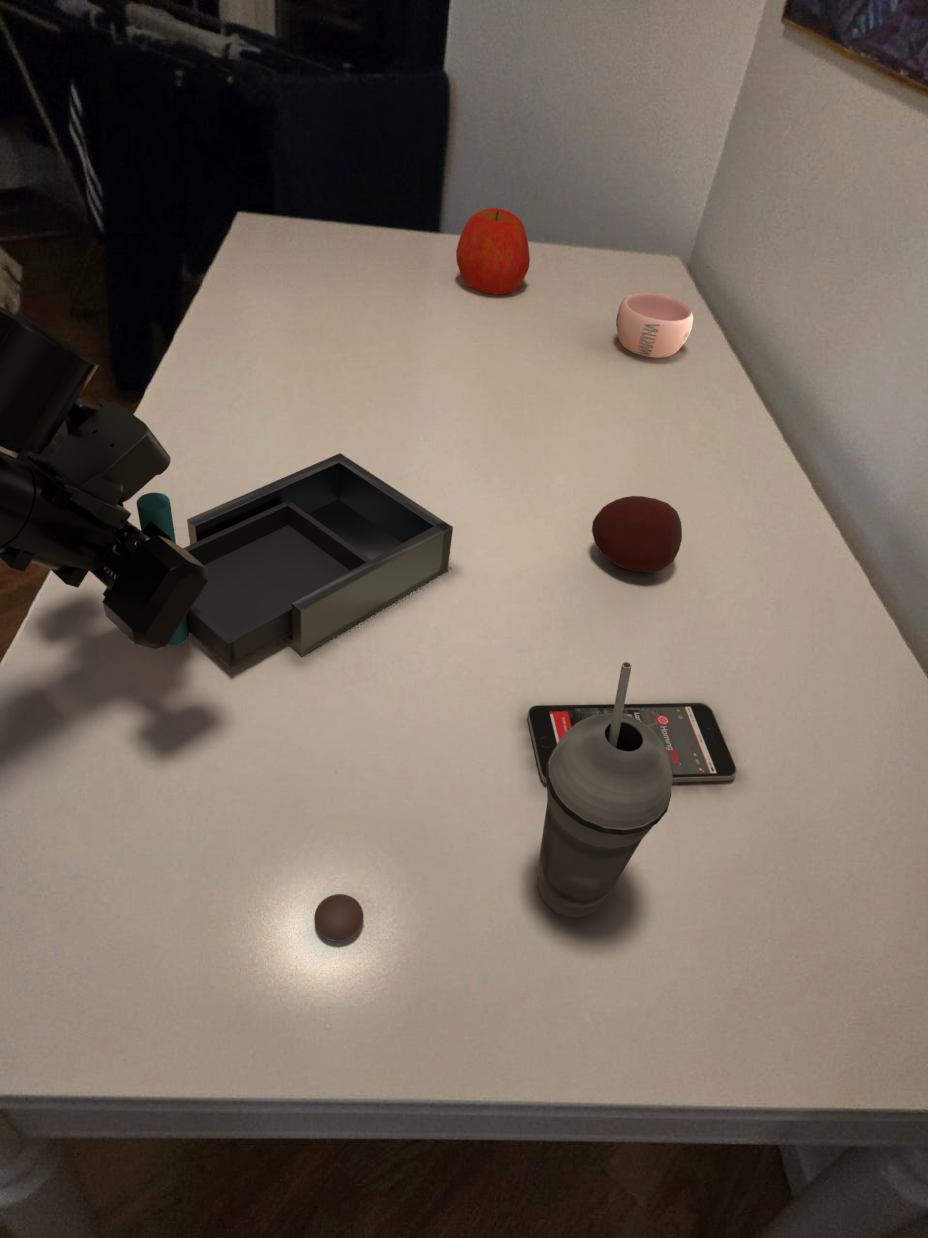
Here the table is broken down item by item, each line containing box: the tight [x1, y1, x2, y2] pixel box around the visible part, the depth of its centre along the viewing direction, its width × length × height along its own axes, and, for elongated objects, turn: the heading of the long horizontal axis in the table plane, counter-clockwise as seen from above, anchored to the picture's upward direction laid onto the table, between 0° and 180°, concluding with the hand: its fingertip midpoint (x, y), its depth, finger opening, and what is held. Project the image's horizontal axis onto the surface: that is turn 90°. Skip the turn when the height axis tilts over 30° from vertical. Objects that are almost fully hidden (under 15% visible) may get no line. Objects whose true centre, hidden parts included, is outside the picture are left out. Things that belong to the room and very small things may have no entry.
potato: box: [591, 495, 683, 573], centre depth 83 cm, size 7×8×7 cm
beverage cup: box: [536, 661, 673, 919], centre depth 52 cm, size 7×7×20 cm
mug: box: [615, 291, 694, 359], centre depth 119 cm, size 12×10×6 cm
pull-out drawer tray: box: [186, 452, 454, 657], centre depth 78 cm, size 17×15×5 cm
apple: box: [455, 207, 531, 295], centre depth 127 cm, size 11×11×11 cm
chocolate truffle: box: [313, 893, 364, 942], centre depth 54 cm, size 3×3×2 cm
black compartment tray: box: [136, 492, 371, 670], centre depth 70 cm, size 17×12×13 cm
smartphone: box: [526, 702, 738, 785], centre depth 67 cm, size 7×1×15 cm
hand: (181, 570), depth 66 cm, fingers closed on black compartment tray, 2 cm apart
